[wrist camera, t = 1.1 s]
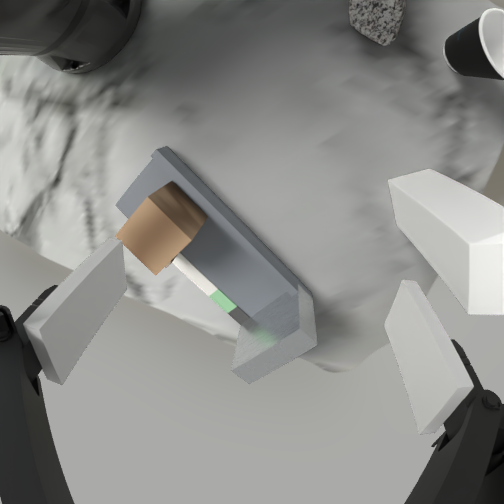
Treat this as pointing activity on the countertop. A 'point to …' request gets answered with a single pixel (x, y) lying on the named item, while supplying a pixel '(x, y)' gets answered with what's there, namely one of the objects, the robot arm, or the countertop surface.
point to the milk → (454, 236)
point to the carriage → (162, 227)
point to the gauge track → (216, 244)
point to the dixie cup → (478, 47)
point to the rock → (377, 18)
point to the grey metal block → (275, 336)
